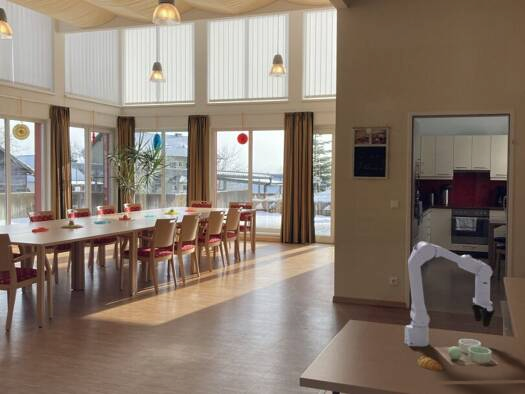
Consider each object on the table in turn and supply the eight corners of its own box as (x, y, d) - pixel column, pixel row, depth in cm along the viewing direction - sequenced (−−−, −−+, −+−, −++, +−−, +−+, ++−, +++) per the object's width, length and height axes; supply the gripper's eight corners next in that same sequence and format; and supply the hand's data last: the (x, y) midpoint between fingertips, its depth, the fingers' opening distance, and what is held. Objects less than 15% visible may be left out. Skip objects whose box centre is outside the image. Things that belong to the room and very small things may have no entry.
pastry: (447, 371, 195) (447, 361, 195) (434, 375, 191) (434, 365, 191) (427, 363, 203) (427, 354, 203) (414, 367, 199) (414, 357, 199)
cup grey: (463, 354, 209) (463, 345, 209) (455, 347, 217) (455, 339, 217) (483, 353, 209) (484, 345, 209) (475, 347, 217) (475, 338, 217)
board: (451, 367, 198) (451, 364, 198) (434, 349, 218) (434, 347, 218) (498, 366, 198) (498, 364, 198) (477, 349, 218) (477, 346, 218)
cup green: (473, 363, 200) (473, 354, 200) (464, 355, 208) (464, 346, 208) (494, 362, 200) (494, 353, 200) (485, 355, 208) (485, 346, 208)
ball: (451, 361, 201) (451, 348, 201) (446, 357, 206) (446, 344, 206) (464, 361, 201) (464, 348, 201) (459, 356, 206) (459, 344, 206)
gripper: (500, 295, 213) (499, 328, 213) (484, 287, 227) (483, 318, 228) (482, 295, 212) (482, 328, 213) (468, 287, 227) (467, 318, 228)
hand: (482, 323), depth 220 cm, fingers open, 7 cm apart
